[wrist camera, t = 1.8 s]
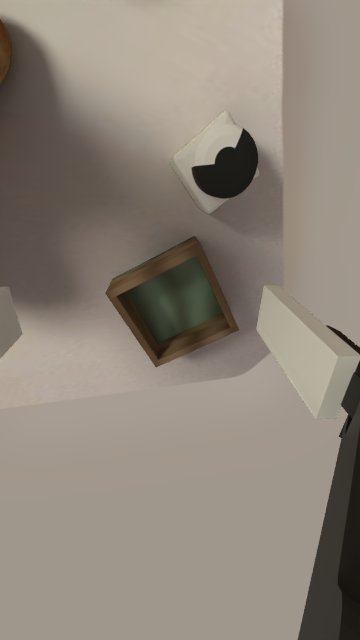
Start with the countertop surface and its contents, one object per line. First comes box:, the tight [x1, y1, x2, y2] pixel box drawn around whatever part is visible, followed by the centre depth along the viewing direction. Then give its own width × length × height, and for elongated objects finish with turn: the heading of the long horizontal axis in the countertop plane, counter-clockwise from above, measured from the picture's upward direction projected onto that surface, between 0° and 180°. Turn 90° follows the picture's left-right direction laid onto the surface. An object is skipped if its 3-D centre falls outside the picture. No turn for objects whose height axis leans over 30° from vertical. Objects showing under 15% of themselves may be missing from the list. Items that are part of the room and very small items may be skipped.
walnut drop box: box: [106, 236, 239, 367], centre depth 40 cm, size 14×14×6 cm
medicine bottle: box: [170, 111, 260, 214], centre depth 30 cm, size 7×7×12 cm
